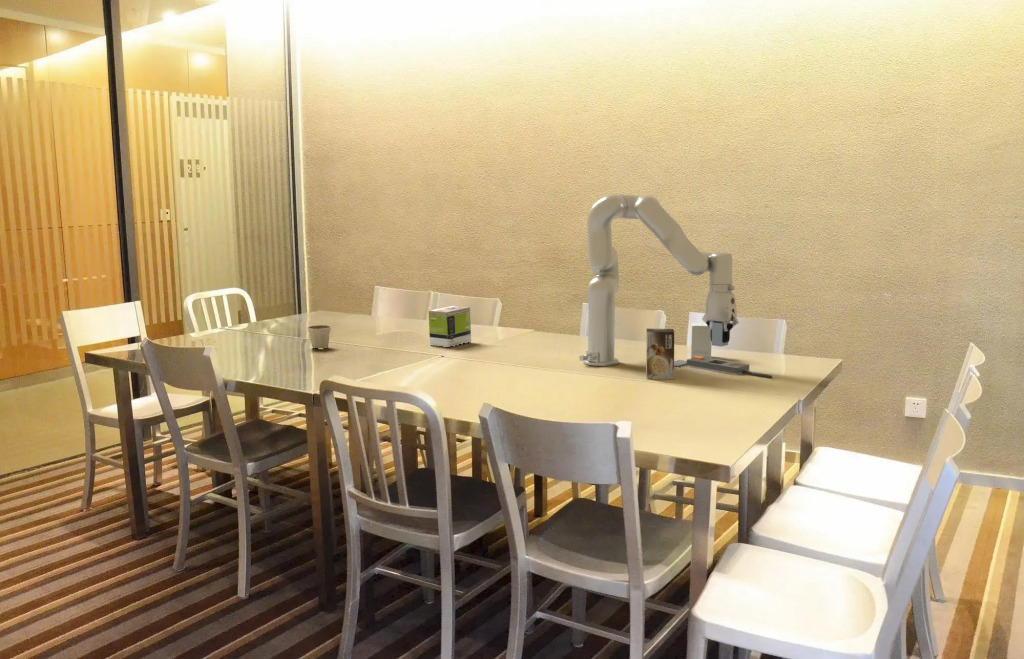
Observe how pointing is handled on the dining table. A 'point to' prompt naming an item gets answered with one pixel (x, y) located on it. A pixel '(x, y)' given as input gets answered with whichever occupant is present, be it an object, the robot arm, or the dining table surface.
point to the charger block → (718, 334)
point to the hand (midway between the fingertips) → (719, 340)
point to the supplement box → (700, 340)
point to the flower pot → (319, 335)
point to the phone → (680, 363)
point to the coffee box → (660, 354)
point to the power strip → (722, 366)
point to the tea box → (449, 326)
